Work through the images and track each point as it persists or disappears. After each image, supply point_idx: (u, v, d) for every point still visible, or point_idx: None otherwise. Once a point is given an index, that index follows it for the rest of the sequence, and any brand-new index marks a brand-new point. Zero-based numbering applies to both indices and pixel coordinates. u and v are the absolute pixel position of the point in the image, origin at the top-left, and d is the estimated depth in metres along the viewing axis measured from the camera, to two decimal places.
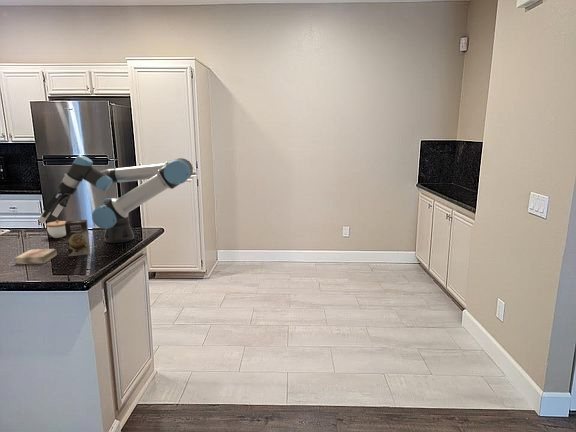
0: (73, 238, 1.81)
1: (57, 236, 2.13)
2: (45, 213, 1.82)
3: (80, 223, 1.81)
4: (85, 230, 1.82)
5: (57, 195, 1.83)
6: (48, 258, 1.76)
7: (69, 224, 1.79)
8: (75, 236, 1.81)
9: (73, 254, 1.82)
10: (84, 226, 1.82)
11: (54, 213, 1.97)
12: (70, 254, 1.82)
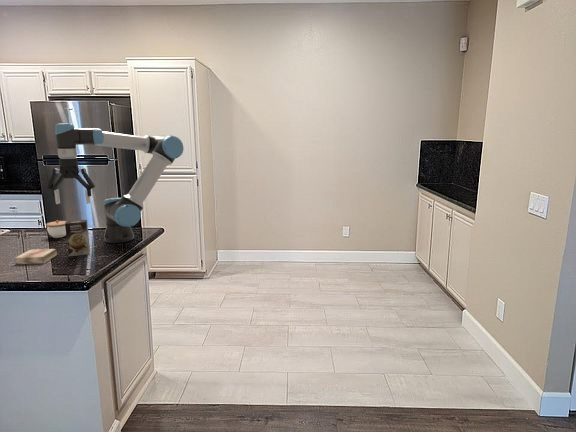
0: (73, 238, 1.81)
1: (57, 236, 2.13)
2: (90, 191, 1.80)
3: (80, 223, 1.81)
4: (85, 230, 1.82)
5: (84, 170, 1.78)
6: (48, 258, 1.76)
7: (69, 224, 1.79)
8: (75, 236, 1.81)
9: (73, 254, 1.82)
10: (84, 226, 1.82)
11: (58, 201, 1.79)
12: (70, 254, 1.82)
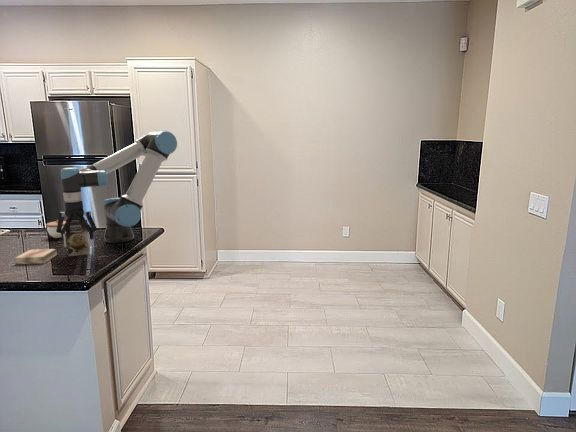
0: (73, 238, 1.81)
1: (57, 236, 2.13)
2: (92, 234, 1.85)
3: (80, 223, 1.81)
4: (85, 230, 1.82)
5: (89, 213, 1.82)
6: (48, 258, 1.76)
7: (69, 224, 1.79)
8: (75, 236, 1.81)
9: (73, 254, 1.82)
10: (84, 226, 1.82)
11: (66, 244, 1.84)
12: (70, 254, 1.82)
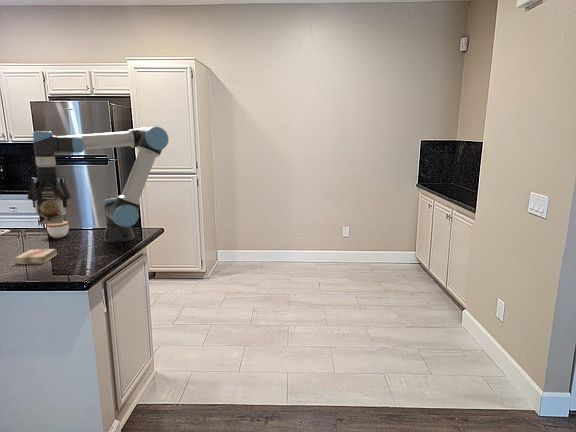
0: (45, 205, 1.72)
1: (57, 236, 2.13)
2: (66, 202, 1.77)
3: (53, 189, 1.73)
4: (58, 197, 1.74)
5: (63, 179, 1.74)
6: (48, 258, 1.76)
7: (41, 190, 1.71)
8: (47, 203, 1.73)
9: (45, 222, 1.74)
10: (57, 193, 1.74)
11: (38, 211, 1.76)
12: (41, 222, 1.73)
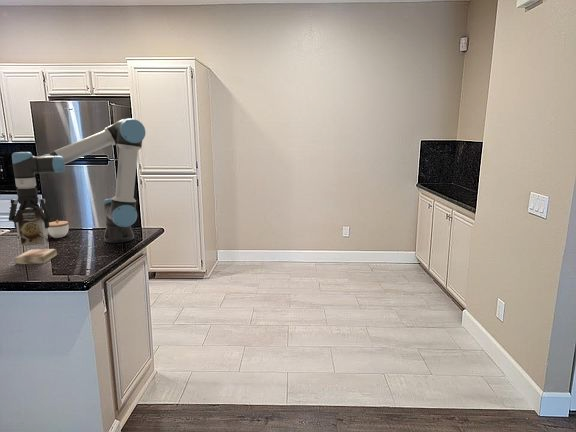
0: (26, 226, 1.71)
1: (57, 236, 2.13)
2: (48, 223, 1.75)
3: (34, 211, 1.71)
4: (39, 218, 1.72)
5: (44, 200, 1.72)
6: (48, 258, 1.76)
7: (21, 212, 1.69)
8: (29, 225, 1.71)
9: (26, 244, 1.72)
10: (38, 214, 1.72)
11: None
12: (23, 244, 1.72)
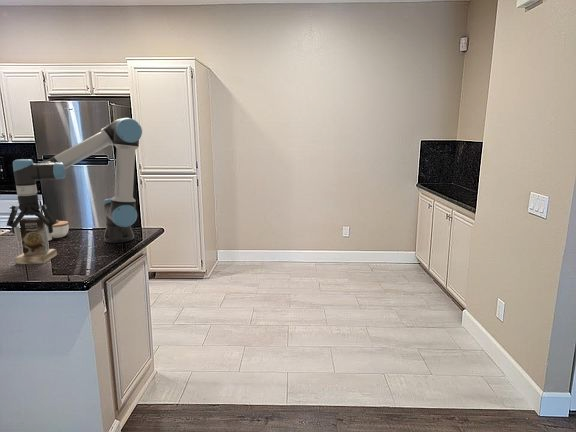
0: (28, 236, 1.72)
1: (57, 236, 2.13)
2: (51, 227, 1.75)
3: (36, 221, 1.72)
4: (41, 228, 1.73)
5: (45, 206, 1.73)
6: (48, 258, 1.76)
7: (24, 222, 1.70)
8: (31, 235, 1.72)
9: (29, 253, 1.73)
10: (40, 224, 1.73)
11: (18, 238, 1.74)
12: (26, 253, 1.73)
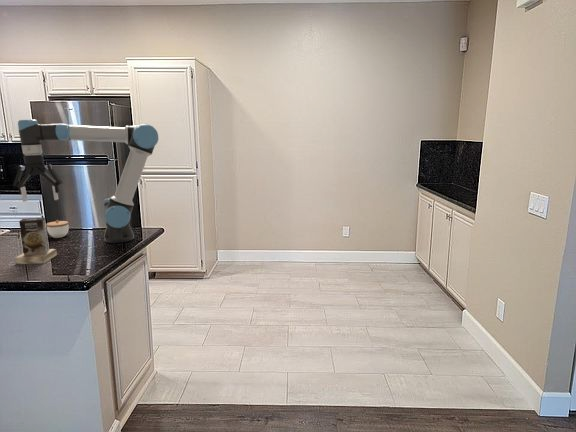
0: (28, 236, 1.72)
1: (57, 236, 2.13)
2: (58, 187, 1.80)
3: (36, 221, 1.72)
4: (41, 228, 1.73)
5: (50, 166, 1.77)
6: (48, 258, 1.76)
7: (24, 222, 1.70)
8: (31, 235, 1.72)
9: (29, 253, 1.73)
10: (40, 224, 1.73)
11: (25, 198, 1.78)
12: (26, 253, 1.73)
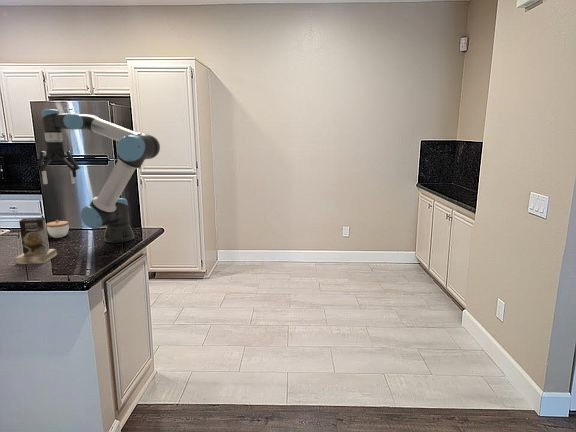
0: (28, 236, 1.72)
1: (57, 236, 2.13)
2: (75, 172, 1.96)
3: (36, 221, 1.72)
4: (41, 228, 1.73)
5: (69, 152, 1.93)
6: (48, 258, 1.76)
7: (24, 222, 1.70)
8: (31, 235, 1.72)
9: (29, 253, 1.73)
10: (40, 224, 1.73)
11: (45, 181, 1.95)
12: (26, 253, 1.73)
